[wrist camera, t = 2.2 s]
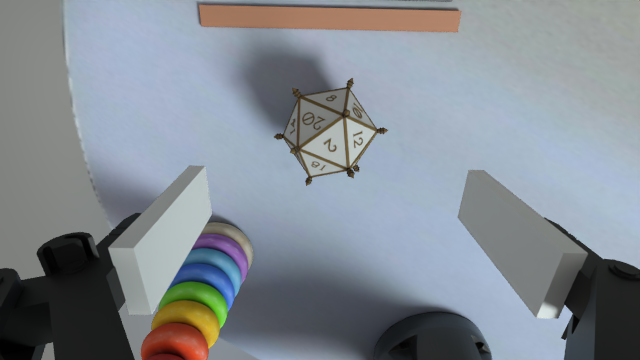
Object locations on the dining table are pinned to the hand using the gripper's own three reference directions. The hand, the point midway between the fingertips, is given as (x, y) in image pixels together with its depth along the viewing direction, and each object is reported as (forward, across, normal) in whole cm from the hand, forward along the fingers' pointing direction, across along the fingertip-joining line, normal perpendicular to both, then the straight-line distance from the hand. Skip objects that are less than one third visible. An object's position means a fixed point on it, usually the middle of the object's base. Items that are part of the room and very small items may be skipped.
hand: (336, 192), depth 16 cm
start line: (+16, 0, -9) cm, 18 cm away
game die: (+16, 0, 0) cm, 16 cm away
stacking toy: (+16, +12, +15) cm, 25 cm away
